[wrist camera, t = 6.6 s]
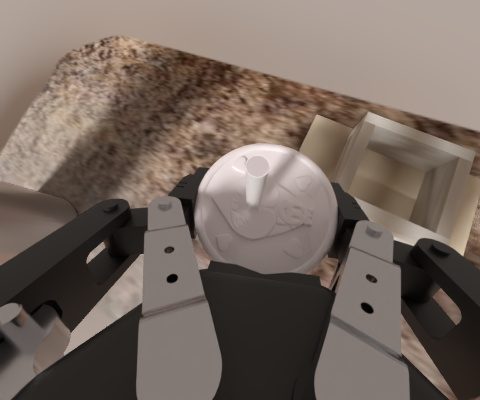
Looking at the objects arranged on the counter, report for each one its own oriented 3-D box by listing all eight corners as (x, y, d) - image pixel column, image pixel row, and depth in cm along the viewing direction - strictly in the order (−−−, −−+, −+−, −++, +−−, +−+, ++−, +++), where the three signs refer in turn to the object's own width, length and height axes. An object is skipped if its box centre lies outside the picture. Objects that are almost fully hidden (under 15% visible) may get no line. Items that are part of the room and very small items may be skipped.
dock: (275, 197, 25) (281, 184, 20) (314, 120, 27) (328, 90, 22) (445, 278, 22) (503, 286, 17) (473, 183, 24) (531, 165, 19)
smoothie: (229, 188, 19) (184, 41, 6) (297, 201, 19) (431, 74, 5) (212, 258, 18) (101, 287, 4) (286, 274, 17) (431, 368, 4)
